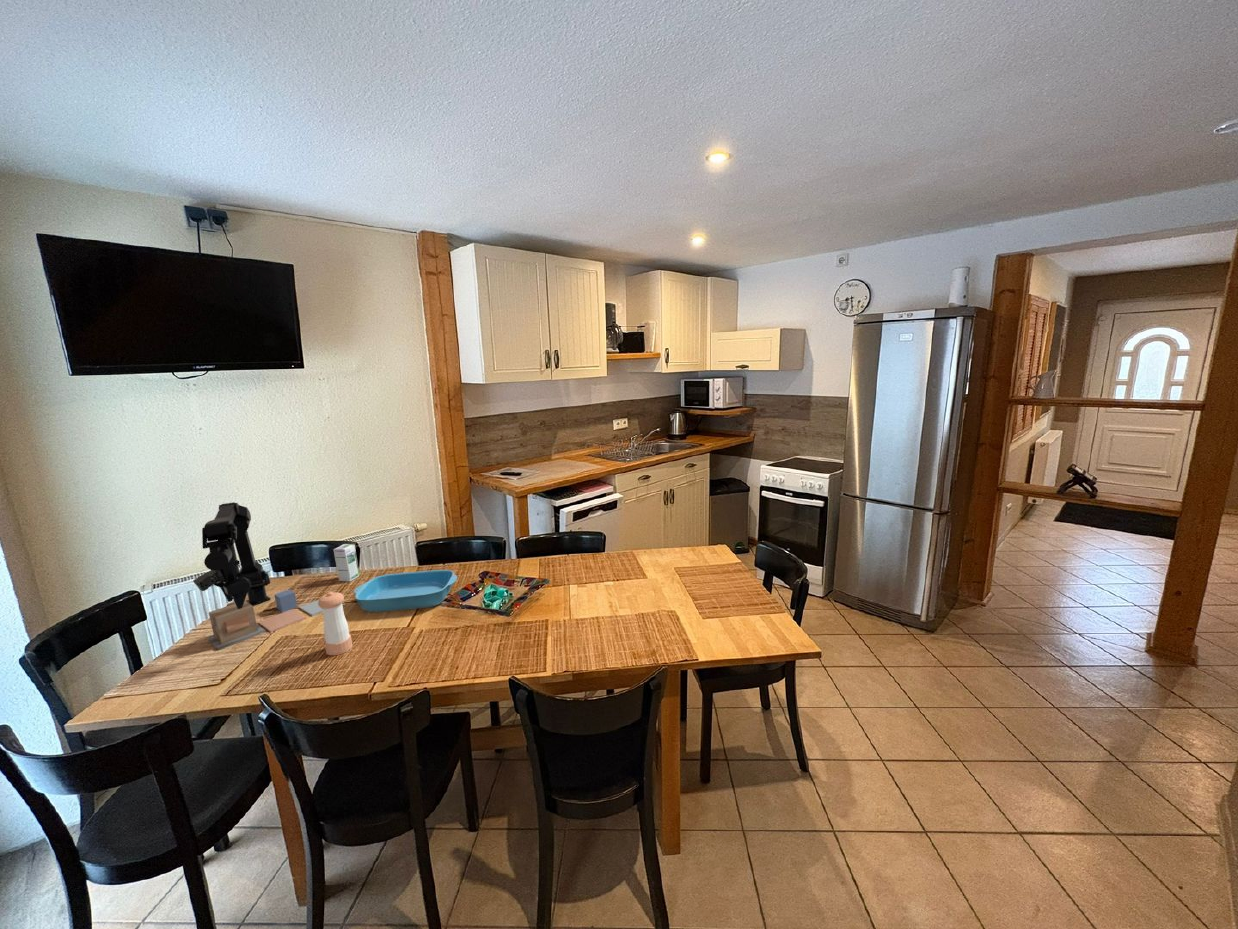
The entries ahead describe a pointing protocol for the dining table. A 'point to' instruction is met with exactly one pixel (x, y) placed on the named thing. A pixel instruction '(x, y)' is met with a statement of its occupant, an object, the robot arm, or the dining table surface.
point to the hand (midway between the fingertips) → (235, 605)
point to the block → (285, 600)
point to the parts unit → (233, 625)
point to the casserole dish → (405, 590)
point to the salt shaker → (335, 624)
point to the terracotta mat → (282, 620)
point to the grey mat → (312, 608)
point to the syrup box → (346, 562)
